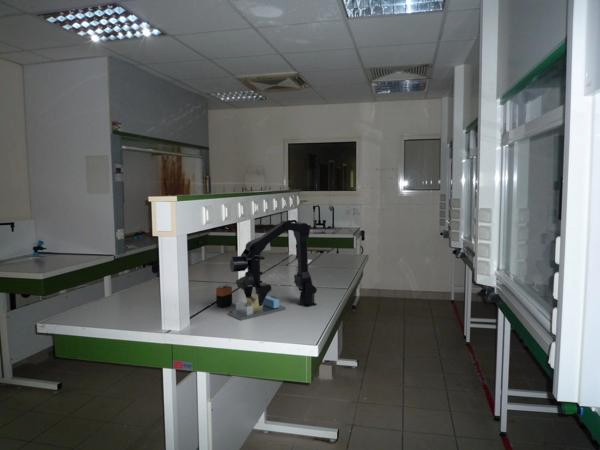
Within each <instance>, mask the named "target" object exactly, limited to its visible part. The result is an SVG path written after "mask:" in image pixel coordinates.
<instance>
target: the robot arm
mask: <svg viewBox="0 0 600 450" xmlns="http://www.w3.org/2000/svg"><path fill="white" fill-rule="evenodd" d="M287 230H288V231H292V232H293V236H294V239H295V241H296V252H297V253H296V254H297V255H296V256H297V273H296V274H294V275H293V278H294V281H293V283H294V284H295V286H296V287H297V289H298V291H300V295H299V302H298V303H297V304H298V305H300V306H303V307H307V308H308V307H311V306H316V305H317V304H318V303H316V302H315V294H316V293H317V291H318V288H317V287H316V286H314V285H313V280H312V277H311V275H310V272H309V261H308V243H307V242H308V239H309V238H310V231H311V228H310V225H309V224H308V223H307V222H306V223H305V222H298V221H297V222H290V221H288V220H281V221H280V222H279V223H278V224H277V225H275V226H274V227H272V228H271V229H270V230H269V231H267V232H265V233H264V234H262V235H261V236H260V237H256V238H253V239H252V240H250V241H248V242H247V243H246V244H245V249H244V250H243V252H242V253H241V255H232V256H231V259H230V263H229V269H230V271H231V272H232V273H234V272H235V273H236V272H244V271H245V273H244V276H241V277H239V278H238V279H237V280H235V284H236V287H237V288H238V289H241V290H242V291H243V292H244V295H245V298H246V299H247V297H252V296H253V291H255V292H254V293H255V294H256V295H258V302H259V306H262V304H263V302H264V299H265V297H266V296H268V293H270V292H271V291H272V285H271V284H268V283H266V282H264V283H263V280H261V275H263V271H261V260H265V257H264V256H263V255H262V254H261V253H262V252H263V251H265V249H266V247H267V245H269V244H270V243H271V242H273V241H274V240H275V239H277V238H278V237H280V236H281V235H282V234H284V233H285V232H286V231H287ZM254 289H255V290H254Z"/></svg>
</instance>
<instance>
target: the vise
mask: <svg viewBox="0 0 600 450" xmlns="http://www.w3.org/2000/svg"><path fill="white" fill-rule="evenodd" d="M286 308H287V307H286V306H283V305H280V304H279V307H278V308H271V307H269V306H266V305H263V304H262V310H259V311H255V312H253V306H252V305H250V304H247V302H245V301H237V302H235V310H232V311H228V312H227V315H228V316H230V317H233V318H235V319H237V320H240V321H245V320H249V319H252V318H253V319H254V318H257V317H261V315H262V316H265V315H268V314H269V315H270V314H274V313H277V312H281V311H285V310H287V309H286Z"/></svg>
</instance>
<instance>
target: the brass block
mask: <svg viewBox="0 0 600 450" xmlns="http://www.w3.org/2000/svg"><path fill="white" fill-rule="evenodd" d="M246 303H247V304H250V305H252V306H253V312H255V311H259V310H262V306H259V302H258V295H257V294H256V295H251V297H247V298H246Z"/></svg>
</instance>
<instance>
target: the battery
mask: <svg viewBox="0 0 600 450" xmlns="http://www.w3.org/2000/svg"><path fill="white" fill-rule="evenodd" d="M215 290H216V291H215V299H216V300H215V301H216V307H217V308H222V309H224V308H226V307H230V306H232V305H233V287H232V286H230V285H229V284H225V285H219V286H218V287H216V288H215Z"/></svg>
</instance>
